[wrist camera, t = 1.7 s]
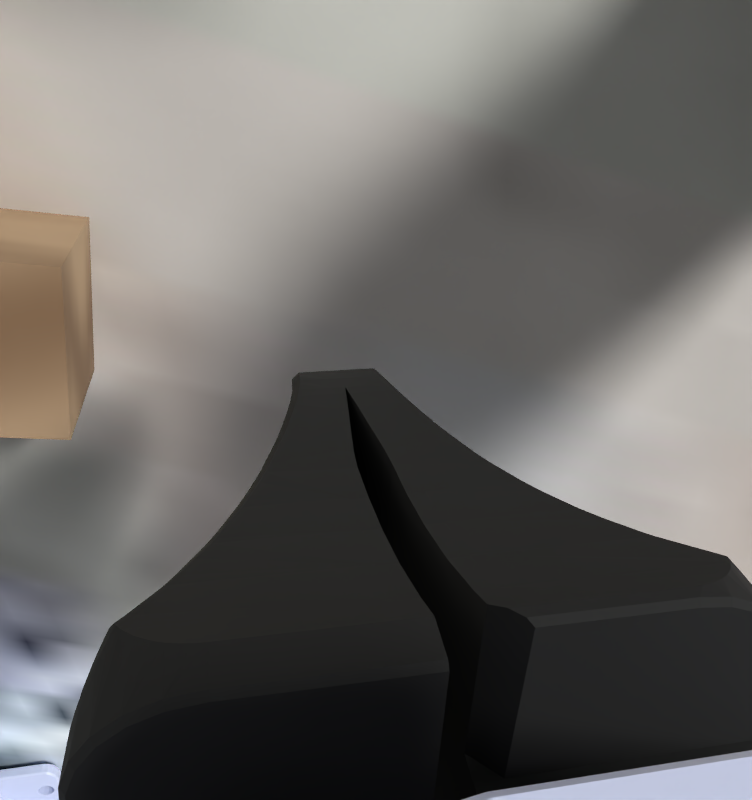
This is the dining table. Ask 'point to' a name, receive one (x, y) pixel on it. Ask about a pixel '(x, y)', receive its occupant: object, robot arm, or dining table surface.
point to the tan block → (44, 323)
